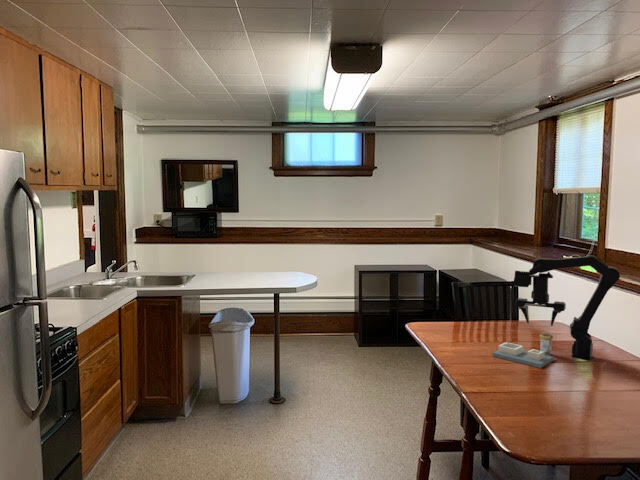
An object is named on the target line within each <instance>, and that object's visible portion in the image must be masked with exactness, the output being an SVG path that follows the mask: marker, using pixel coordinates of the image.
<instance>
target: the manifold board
mask: <svg viewBox="0 0 640 480" xmlns="http://www.w3.org/2000/svg"><path fill="white" fill-rule="evenodd" d="M492 357H494V358H498V359H502V360H506V361H511V362H515V363H518V364H521V365H526V366H530V367H535V368H538V369H542V368H543V367H545V366H547V365H548V364H550V363H551V362H554V356H551V355H544V352H543V351H540V349H539V350H538V349H534V348H531V349H530V350H527V349H526V350H525V349H524V345H521V344H518V343H517V344H516V343H513V342H512V343H511V342H506V341H505V342H503V343H501V344H499V345H498V349H497V350H496V351H493V352H492Z"/></svg>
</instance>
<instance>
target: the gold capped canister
mask: <svg viewBox="0 0 640 480" xmlns="http://www.w3.org/2000/svg"><path fill="white" fill-rule="evenodd" d="M539 339H540V345H539V346H540V349H539V351H543V352H544V355H548V356H551V355H552V354H551V353H552V340H553V339H554V335H553V334H551V333H546V332H541V333H539Z"/></svg>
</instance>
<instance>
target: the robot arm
mask: <svg viewBox="0 0 640 480" xmlns="http://www.w3.org/2000/svg"><path fill="white" fill-rule="evenodd" d="M578 267H590V268H592V269H594V270H595V271H596V272H597V273H599V274H600V276H599V280H598V283H597V287H596V288H595V290H594V292H593V293H592V295H591V297H590V299H589V301H588V303H587V304H586V306H585V308H584V310H583V311H582V313H581V315H580V316H579V317H578V318H577V317H576V316H574V318H573V319H572V322H571V323H570V324H569V329H570V331H569V332H570V335H571V337H572V338H573V339H574V341H573V344H571V357H572V358H575V359H580V360H584V361H590V360H592V359H593V358H594V355H593V351H594V350H593V346H594V342H593V339H592V335H591V334H590V333H589V332H588V331H589V328H590V325H591V321H592V319H593V318H594V316H595V314H596V312H597V310H598V309H599V308H600V306H601V303H602V302H603V300H604V298H605V296H606V295H607V293H608V291H609V290H610V289H611V288H612V287H614V286H615V284H616V283H618V281H619V280H620V278H621V274H620V272H619V270H618V269H617V268H616V267H614V266H612V265H611V266H608V264H606V263H605V262H602V261H601V260H599V259H598V258H597V257H596V256H595V255H591V254H590V255H587V256H576V257H567V258H566V257H565V258H551V257H550V258H549V257H537V258H536V259H535V260H534V262H533V263H532V267H531V268H530V269H529V270H528V271H520V270H515V271H514V278H513V286H514V287H516V288H517V287H518V288H529V286H532V291H531V295H530V297H531V299H532V301H531V300H528V299H527V298H523V297H521V298H520V297H519V298H517V299H516V300H515V305H514V306H515V307H517V308H518V310H521V312H522V314H523V316H524V318H525V321H526V323H527V324H529V323H530V317H529V316H530V315H529V307H530V306H532V307H538V308H539V307H541V308H552V309H553V310H552V313H551V321H550V326H551V327H553V326H554V323H555V320H556V317H557V315H558V314H559V313H562V312H564V311H566V307H567V306H566V303H565V301H554V302H552V303H551V302H550V294H549V279H553V278H554V275H552V274H551V273H550V272H551V271H554V270H559V269H567V268H578ZM546 272H547V273H546ZM537 274H538V275H537Z"/></svg>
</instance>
